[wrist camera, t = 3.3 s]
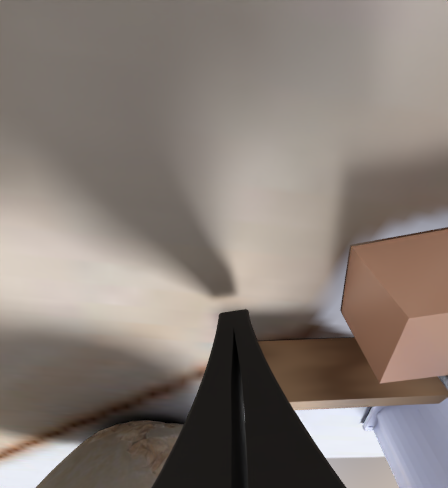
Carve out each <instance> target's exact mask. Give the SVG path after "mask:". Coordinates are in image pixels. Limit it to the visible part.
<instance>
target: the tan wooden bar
mask: <svg viewBox="0 0 448 488" xmlns="http://www.w3.org/2000/svg"><path fill="white" fill-rule="evenodd" d="M258 343H259V345H260V348H261V350H262V352H263V354H264V357H265V359H266V361H267V363H268V365H269V367H270V369H271V371H272V372H273V374H274V376H275V378H276V380H277V382H278V384H279V385H280V387H281V389H282V391H283V392H284V394H285V396H286V398H287V399H288V401H289V403H290V404H291V406H292V408H293V409H294V410H308V409H330V408H352V407H374V406H395V405H417V404H439V403H441V402H442V401H443V400H445V399H446V398H448V390H447V388H446V387H445V386H444V384H443V383H442V382H441V380H440V379H439V378H438V376H437V377H428V378H420V379H412V380H404V381H396V382H388V383H380V384H379V382H378V380H377V378H376V376H375V374H374V372H373V371H372V369H371V367H370V365H369V363H368V361H367V359H366V357H365V356H364V354H363V352H362V350H361V348H360V346H359V344H358V343H357V341H356V339H355V337H352V338H327V339H303V340H279V341H258Z"/></svg>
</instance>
